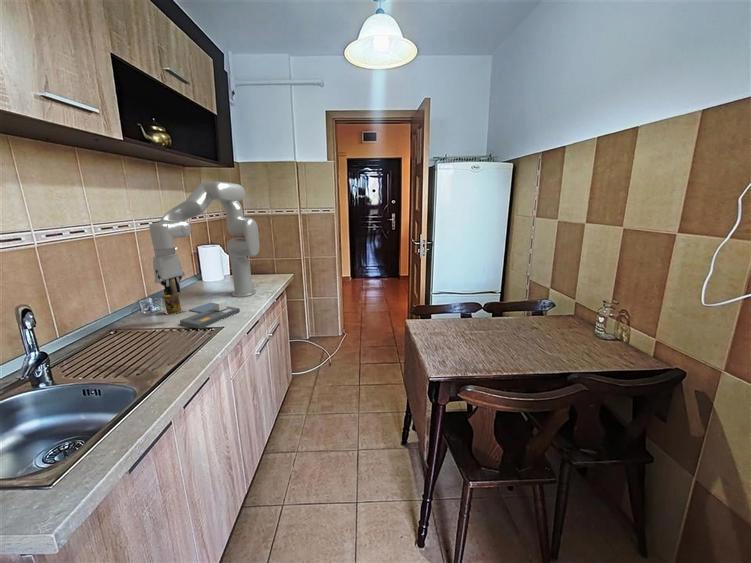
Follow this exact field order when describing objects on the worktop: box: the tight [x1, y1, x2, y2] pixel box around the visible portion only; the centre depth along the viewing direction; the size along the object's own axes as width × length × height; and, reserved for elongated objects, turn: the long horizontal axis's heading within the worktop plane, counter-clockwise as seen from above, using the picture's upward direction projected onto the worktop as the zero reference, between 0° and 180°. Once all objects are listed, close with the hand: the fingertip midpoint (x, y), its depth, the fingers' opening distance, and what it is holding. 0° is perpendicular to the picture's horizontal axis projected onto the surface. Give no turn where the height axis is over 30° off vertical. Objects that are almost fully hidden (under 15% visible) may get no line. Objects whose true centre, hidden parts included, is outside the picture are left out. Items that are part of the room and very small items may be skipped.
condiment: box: [163, 288, 186, 315], centre depth 162 cm, size 7×8×12 cm
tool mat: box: [188, 302, 214, 314], centre depth 167 cm, size 12×10×1 cm
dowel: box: [169, 278, 181, 305], centre depth 147 cm, size 3×3×14 cm
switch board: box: [179, 305, 241, 330], centre depth 153 cm, size 22×12×2 cm, turn 155°
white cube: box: [212, 300, 227, 311], centre depth 158 cm, size 4×4×4 cm
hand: (173, 292), depth 148 cm, fingers closed on dowel, 3 cm apart
